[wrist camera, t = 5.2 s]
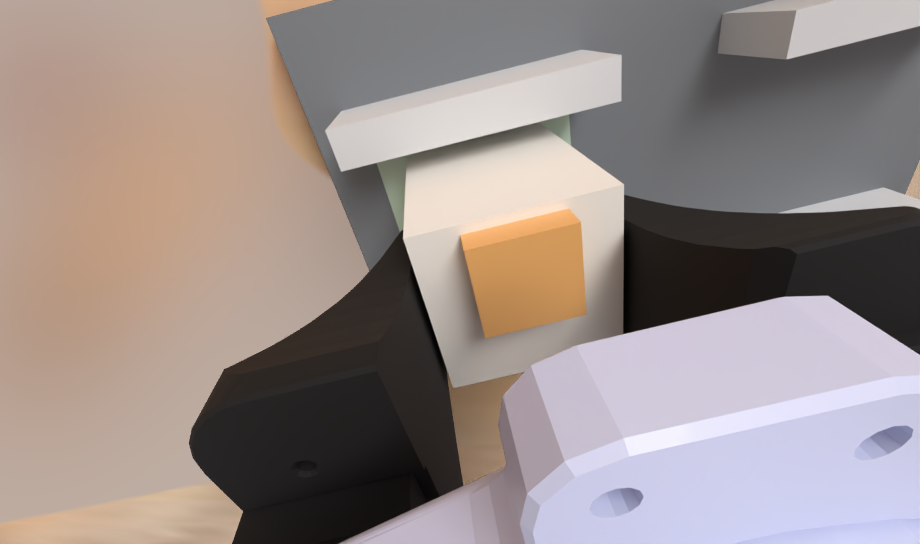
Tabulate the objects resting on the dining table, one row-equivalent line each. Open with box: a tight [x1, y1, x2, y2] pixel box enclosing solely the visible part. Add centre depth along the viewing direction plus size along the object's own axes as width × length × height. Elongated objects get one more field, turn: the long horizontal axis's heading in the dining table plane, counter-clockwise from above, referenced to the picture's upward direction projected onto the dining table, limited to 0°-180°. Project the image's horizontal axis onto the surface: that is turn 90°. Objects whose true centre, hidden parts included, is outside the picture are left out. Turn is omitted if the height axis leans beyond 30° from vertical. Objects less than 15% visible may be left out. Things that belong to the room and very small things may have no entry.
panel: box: [266, 0, 920, 271], centre depth 13 cm, size 13×20×4 cm, turn 103°
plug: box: [403, 123, 624, 388], centre depth 10 cm, size 4×4×6 cm
